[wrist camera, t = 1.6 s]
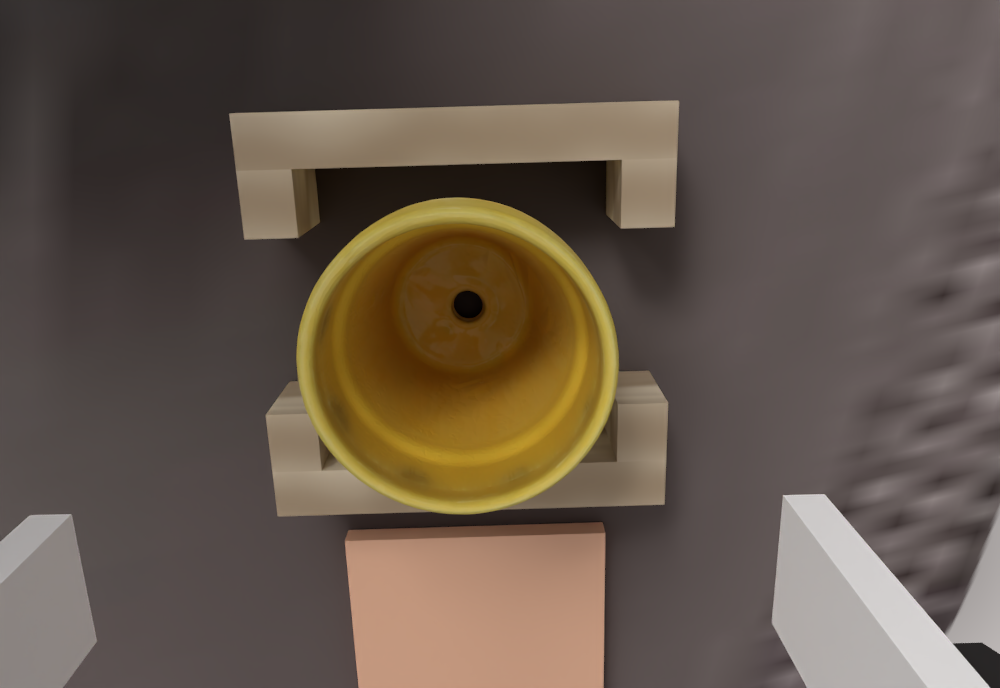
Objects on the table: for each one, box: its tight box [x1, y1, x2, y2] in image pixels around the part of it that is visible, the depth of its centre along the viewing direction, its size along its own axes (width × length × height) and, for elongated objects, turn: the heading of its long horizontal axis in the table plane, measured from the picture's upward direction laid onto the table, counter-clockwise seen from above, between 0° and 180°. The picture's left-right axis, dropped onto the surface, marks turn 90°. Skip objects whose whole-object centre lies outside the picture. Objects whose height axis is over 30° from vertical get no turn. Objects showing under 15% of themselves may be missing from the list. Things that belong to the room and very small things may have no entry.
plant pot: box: [296, 197, 619, 515], centre depth 30 cm, size 10×10×10 cm
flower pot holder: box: [229, 101, 679, 516], centre depth 33 cm, size 16×16×4 cm
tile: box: [345, 522, 605, 688], centre depth 39 cm, size 12×12×1 cm
